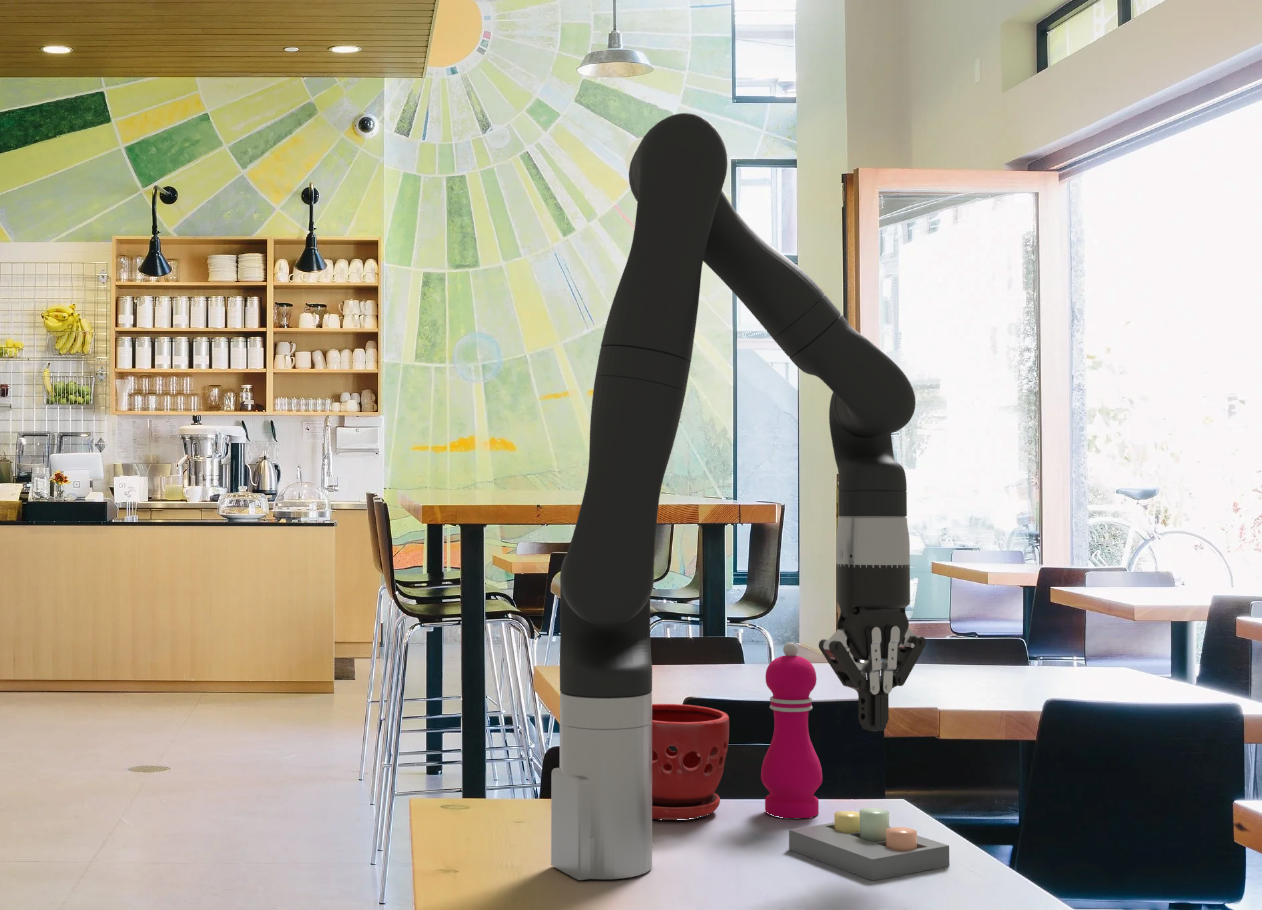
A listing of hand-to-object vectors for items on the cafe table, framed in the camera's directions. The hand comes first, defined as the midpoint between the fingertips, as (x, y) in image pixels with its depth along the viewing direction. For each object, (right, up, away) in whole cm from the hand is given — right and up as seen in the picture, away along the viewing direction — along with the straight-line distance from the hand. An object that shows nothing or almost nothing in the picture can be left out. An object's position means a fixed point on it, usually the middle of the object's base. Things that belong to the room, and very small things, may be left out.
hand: (873, 729), depth 125 cm
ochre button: (-2, -13, +3) cm, 13 cm away
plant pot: (-20, -14, +18) cm, 30 cm away
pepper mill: (-6, -14, +18) cm, 24 cm away
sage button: (0, -11, 0) cm, 11 cm away
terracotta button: (+2, -12, -4) cm, 13 cm away
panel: (-1, -13, -1) cm, 13 cm away
